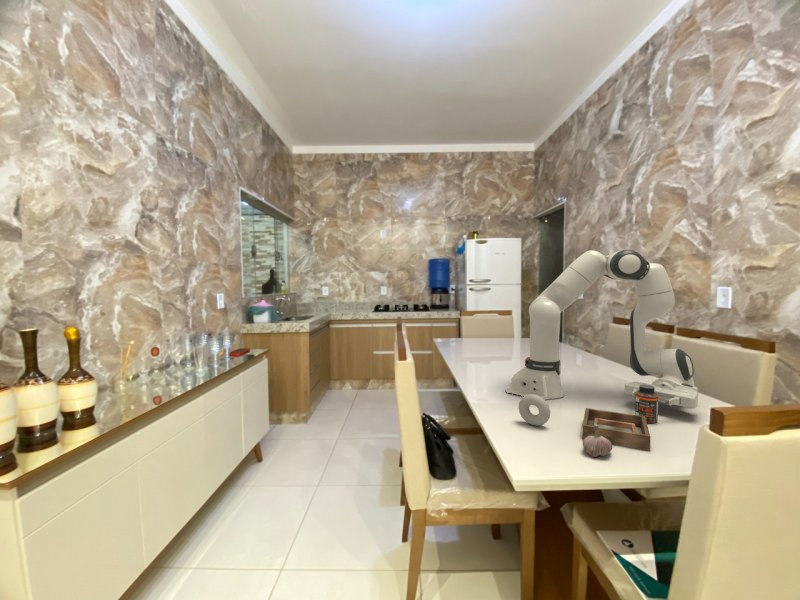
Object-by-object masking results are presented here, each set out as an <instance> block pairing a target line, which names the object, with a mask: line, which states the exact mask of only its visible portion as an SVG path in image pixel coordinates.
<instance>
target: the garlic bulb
mask: <svg viewBox="0 0 800 600" xmlns="http://www.w3.org/2000/svg"><path fill="white" fill-rule="evenodd" d="M594 428H595V436H588V437H586V438H585V439H582V449H583V450H584V451H585V453H587V454H589V456H591V457H592V458H597V457H599V456H602V457H603V456H607V455H609V454H610V452H612V450H613V444H611V442H610V441H609V440H608V439H606V438H604V437H602V436H600V433H599V428H598V425H597V424H594Z"/></svg>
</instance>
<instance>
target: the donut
mask: <svg viewBox="0 0 800 600" xmlns="http://www.w3.org/2000/svg"><path fill="white" fill-rule="evenodd" d="M531 406H534V407H536V408H537V410H538V414H534V413H532V412H531V410H530V407H531ZM518 411H519V414H520V417H521V418H522V419H523V420H524V421H525V422H526V423H527V424H529V425H532V426H534V425H535V427H536V426H537V427H540V426H543V425H545V424H546V423H548V422H549V419H550V418H551V417H550V416H551V410H550V407H549V404H548V403H547V401H546V400H544V399H543V398H541V397H540V396H537V395H535V394H529V395H525V396H524V397H523V396H522V397H521V398H520V400H519V401H518Z"/></svg>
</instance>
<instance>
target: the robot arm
mask: <svg viewBox="0 0 800 600" xmlns="http://www.w3.org/2000/svg"><path fill="white" fill-rule="evenodd" d="M602 276H603V277H606V278H608V279H611V280H618V281H626V280H628V281H630V282H631V283H632V284H633V286H634V288H635V289H634V290H635V294H636V298H637V299H636V306H635V308H633V309H632V310H631V312H630V318H629V329H630V331H629V333H630V336H629V338H630V354H629V355H630V356H629V366H630V368H631V370H632V371H633V372H635V373H636V374H637V375H639V376H640V377H646V376H647V377H648V376H662V377H659V378H657V379H655V380H653V382H652V383H646V382H641V381H630V382H627V383H625V384H624V393H625V394H626V395H629V396H631V397H632V398H634V399H636V392H637V391H639V390H640V389H639V386H640V385H650V386H653V387H654V390H655V391H654V392H655V393H656V394H657V395H658V403H662V404H663V405H667V406H673V405H674V406H679V407H683V408H687V409H696V408H698V404H699V389H698V387H697V386H695V381H694V380H695V379H694V378H693V376H694V371H695V370H694V364H693V360H692V358H691V357H690V356H689V355H688V354H687V353H686V352H685V351H684V350H683V349H681V348H663V349H661V348H660V349H658V348H657V349H656V348H655V349H649V348H647V347H646V327H647V325H648V324H649V323H651V322H653V321H654V320H657V319H659V318H662V317H663V316H665V315H667V314H668V313H670V312H671V311H672V310H673V309H674V307H675V304H676V303H675V302H676V299H675V298H676V297H675V292H674V289H673V286H672V282H671V278H670V276H669V275H668V272H667V271H666V268H665V267H664V266H663V265H662V264H661V263H657V262H649V261H647V260H646V258H644V256H643V255H642V254H640V253H639V252H637V251H636V250H633V249H623V250H618V251H614V252H612V253H610V254H609V253H608V254H607V255H604V254H602V253H601V252H599V251H597V250H593V249H591V250H587V251H585V252H584V253H582V254H580V255H579V256H578V257H576V259H574V260H573V262H571V264H569V265H568V266H567V267H566V268H565V269H564V270H563V272H561V273H560V275H558V276H557V278H555V280H553V282H552V283H550V285H548V287H546V288H545V289H544V290H543V291H542V292H541V293H540V294H539V295H538V296H537V297H536V298H535V299H534V300H533V301H532V302H531V303H530V304H529V308H528V315H529V356H527V357H526V358H525V360H524V367H523V368H521V369H519V371H517V372H516V373H514V374H513V376H512V377H511V380H510V384H508V385H507V386H506V387H505V390H506V392H508V393H512V394H511V395H513V394H517V395H516V396H518V395H521V396H520V397H523V396H525V395H529V394H535V395H537V396H540V397H541V398H543V399H544V400H545V401H546V400H551V399H553V400H554V399H560V398H562V397H564V396H565V393H564V390H563V386H562V381H561V380H562V379H561V373H562V372H561V371H562V366H561V365H562V364H561V360H560V334H561V333H560V331H561V313H562V312H564V311H565V310H566V309H567V308H568V307H569V306H571V305H572V304H573V303H574V302H575V301H577V300H578V299H579V298H580V297H581V296H582V295H583V294H584V293H585V292H586V291H587V290H588V289H589V288H590V287H592V285H593V284H594V283H595V282H596V281H597V280H598V279H599V278H601V277H602ZM505 390H504V391H505ZM506 392H505V393H506ZM508 393H507V394H508Z"/></svg>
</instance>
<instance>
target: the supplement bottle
mask: <svg viewBox="0 0 800 600" xmlns="http://www.w3.org/2000/svg"><path fill="white" fill-rule="evenodd" d="M639 389H640V390H639V391H637V392H636V398H635V410H634V411H635V414H634V415H640V416H645V418H646V422H647V424H652V425H653V424H657V423H658V419H659V412H658V411H659V401H658V395H657V394H656V393H655V392H654V391H655V390H654V387H653V386H650V385H640V386H639Z"/></svg>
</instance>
